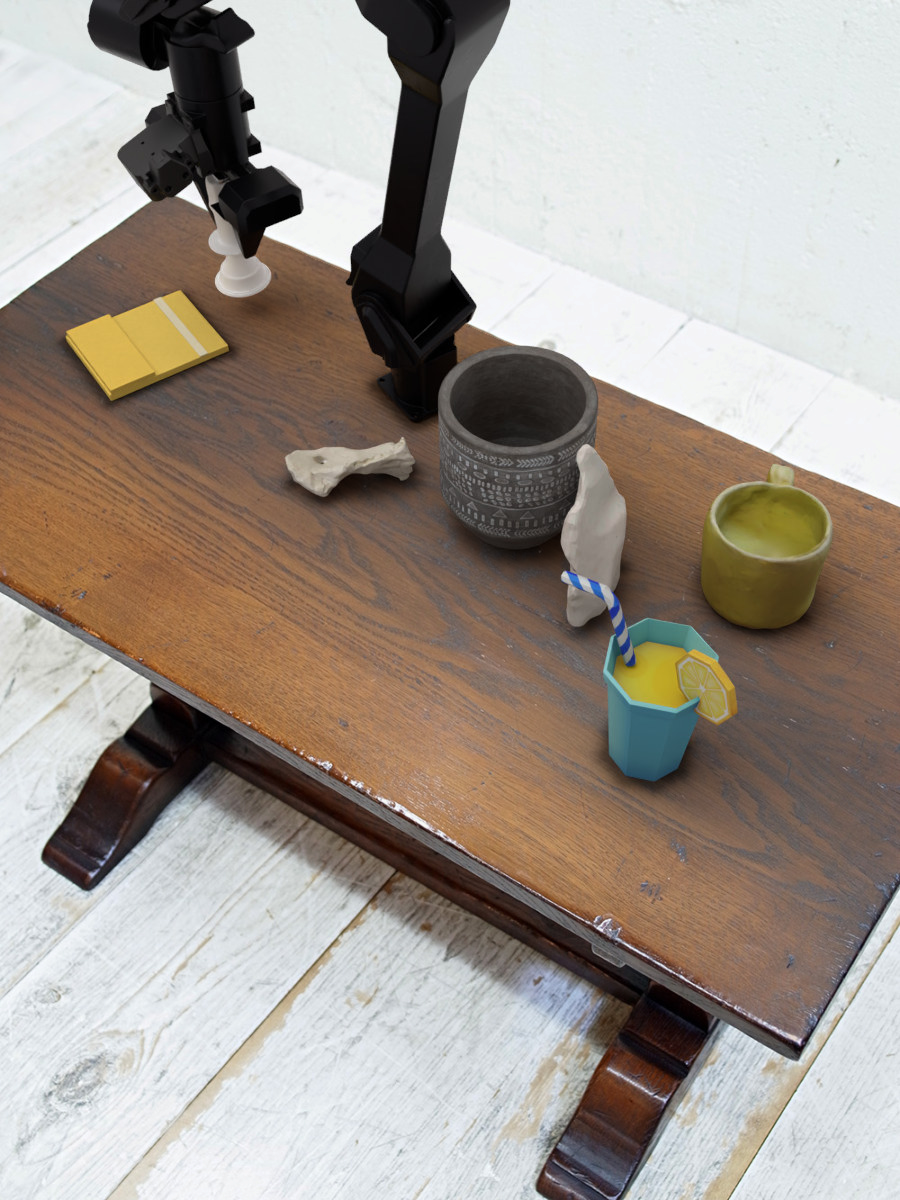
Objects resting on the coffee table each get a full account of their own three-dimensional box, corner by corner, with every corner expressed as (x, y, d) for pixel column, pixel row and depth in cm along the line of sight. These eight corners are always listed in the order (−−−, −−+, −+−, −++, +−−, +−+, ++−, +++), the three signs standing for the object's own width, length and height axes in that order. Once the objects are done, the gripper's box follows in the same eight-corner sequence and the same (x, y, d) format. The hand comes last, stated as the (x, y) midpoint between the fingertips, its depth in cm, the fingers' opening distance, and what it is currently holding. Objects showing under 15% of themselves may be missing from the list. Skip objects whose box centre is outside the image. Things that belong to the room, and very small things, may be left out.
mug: (813, 657, 95) (806, 542, 90) (683, 635, 100) (670, 525, 95) (863, 570, 103) (860, 459, 98) (740, 554, 108) (731, 449, 103)
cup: (524, 732, 94) (530, 603, 82) (582, 661, 97) (596, 529, 86) (692, 833, 88) (724, 711, 76) (747, 754, 92) (785, 627, 80)
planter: (588, 462, 110) (598, 345, 100) (588, 571, 103) (600, 457, 93) (446, 457, 111) (442, 341, 101) (436, 565, 103) (431, 451, 93)
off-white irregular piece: (285, 467, 111) (279, 429, 107) (404, 445, 112) (401, 407, 109) (296, 514, 107) (289, 476, 104) (418, 490, 109) (416, 452, 105)
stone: (623, 644, 97) (601, 498, 87) (568, 641, 99) (541, 497, 88) (642, 546, 104) (624, 399, 94) (591, 544, 105) (568, 399, 95)
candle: (261, 301, 120) (238, 192, 110) (207, 295, 121) (179, 186, 111) (278, 264, 123) (256, 155, 114) (225, 258, 124) (199, 150, 114)
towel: (229, 351, 120) (227, 340, 119) (111, 401, 116) (108, 391, 115) (181, 295, 126) (179, 285, 125) (67, 341, 122) (63, 331, 121)
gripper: (72, 66, 109) (114, 224, 121) (169, 169, 99) (204, 329, 111) (190, 27, 113) (219, 184, 125) (295, 122, 103) (316, 282, 115)
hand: (236, 243), depth 119 cm, fingers closed on candle, 5 cm apart
